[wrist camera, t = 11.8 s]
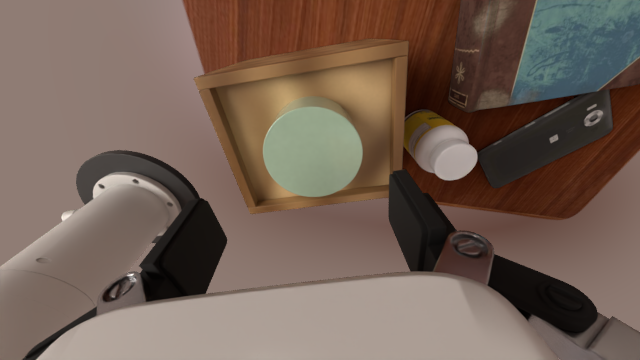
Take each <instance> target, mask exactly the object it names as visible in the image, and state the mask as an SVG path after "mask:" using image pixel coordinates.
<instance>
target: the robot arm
mask: <svg viewBox="0 0 640 360" xmlns="http://www.w3.org/2000/svg"><path fill="white" fill-rule="evenodd" d="M93 198H94V199H93V200H91V201H90V202H89V203H87V204H86V205H85V206H83V207H82V208H80V209H79V210H71V211H66V212H64V213H63V215H62V220H63V222H61V223H60V224H58V225H57V226H56V227H54V228H53V229H51V230H50V231H49V232H47V233H46V234H45V235H43V236H42V237H40V238H39V239H38V240H36V241H35V242H34V243H32V244H31V245H29V246H28V247H27V248H25V249H24V250H23V251H21V252H20V253H18V254H17V255H16V256H14V257H13V258H11V259H10V260H9V261H7V262H6V263H5V264H3V265H2V266H0V360H559V359H560V360H640V332H638V331H637V330H635V329H633V328H632V327H630V326H628V325H627V324H625V323H623V322H621V321H620V320H618V319H616V318H615V317H613V316H612V317H611V318H610V319H608V318H607V317H605V316H603V315H602V314H600V313H598V312H597V309H596V307H595V305H594V304H593V303H592V301H591V300H590V299H589V298H588V297H587V296H586V295H585V294H584V293H582V292H581V291H579V290H578V289H576V288H575V287H573V286H571V285H569V284H567V283H565V282H563V281H560V280H558V279H555V278H553V277H550V276H548V275H545V274H543V273H540V272H538V271H535V270H533V269H530V268H528V267H525V266H523V265H520V264H518V263H515V262H513V261H510V260H508V259H505V258H503V257H500V256H498V255H495V254H494V248H493V246H492V245H491V243H490V242H489V241H488V240H487V239H485V238H484V237H482V236H481V235H479V234H476V233H474V232H469V231H457V230H456V229H455V228H454V226H453V225H452V224H451V223H450V221H449V220H448V219H447V217H446V216H445V215H444V213H443V212H442V210H441V209H440V208H439V207H438V205H437V204H436V203H435V201H434V200H433V199H432V197H431V196H430V195H429V194H428V193H422V191H421V190H420V188H419V187H418V186H417V184H416V183H415V182H414V180H413V179H412V177H411V176H410V175H409V173H408V172H407V170H406V169H403V170H396V171H393V174H390V175H389V221H390V224H391V226H392V228H393V231H394V233H395V236H396V238H397V240H398V243H399V245H400V247H401V250H402V252H403V255H404V257H405V259H406V262H407V264H408V267H409V269H410V271H411V272H396V273H386V274H375V275H364V276H355V277H346V278H338V279H328V280H319V281H310V282H301V283H292V284H284V285H276V286H267V287H258V288H251V289H242V290H233V291H225V292H217V293H209V294H205V293H206V291H207V289H208V286H209V283H210V282H211V279H212V277H213V275H214V272H215V269H216V267H217V265H218V263H219V260H220V258H221V256H222V253H223V251H224V249H225V246H226V244H227V237H226V236H225V233H224V232H223V230H222V228H221V226H220V224H219V222H218V220H217V218H216V216H215V214H214V213H213V210H212V209H211V207H210V205H209V203H208V201H205V200H204V199H202V198H200V199H193V200H190V201H188V203H187V204H186V205H185V207H184V208H183V209H182V210H181V206H180V204H179V202H178V200H177V199H176V197H175V196H174V195H173V194H172V193H171V192H170V191H169V190H168V189H167V188H166V187H164V186H163V185H162V184H160V183H159V182H157V181H155V180H153V179H151V178H149V177H146V176H144V175H141V174H137V173H132V172H115V173H111V174H109V175H107V176H105V177H103V178H102V179H100V180H99V181H98V182H97V183H96V184H95V186H94V189H93ZM161 235H162V237H161V238H160V239H159V241H158V242H157V243H156V244H155V246H154V247H153V248H152V250H151V251H150V252H149V254H148V255H147V256H146V258H145V259H144V260H143V261H142V263H141V264H140V265H139V266H140V267H141V268H142V269H143V270H142V271H141V273H138V272H129V273H127V272H128V271H129V270H130V269H131V267H132V266H133V265H134V263H135V262H136V261H137V260H138V259H139V257H140V256H141V255H142V254H143V252H144V251H145V250H146V249H147V247H148V246H149V245H150V244H151V243H152V241H153V240H154V239H155V238H156V236H161ZM558 358H559V359H558Z"/></svg>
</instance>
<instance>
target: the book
mask: <svg viewBox="0 0 640 360" xmlns="http://www.w3.org/2000/svg"><path fill="white" fill-rule="evenodd" d="M637 84H640V0H461V4H460V12H459V20H458V28H457V35H456V43H455V51H454V59H453V67H452V74H451V82H450V90H449V98H448V102H449V103H450V104H452V105H453V106H455V107H457V108H458V109H460V110H462V111H465V112H474V111H476V110H481V109H490V108H497V107H504V106H510V105H517V104H523V103H529V102H535V101H541V100H547V99H553V98H560V97H566V96H572V95H578V94H584V93H590V92H596V91H602V90H608V89H613V88H619V87H625V86H631V85H637Z"/></svg>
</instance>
